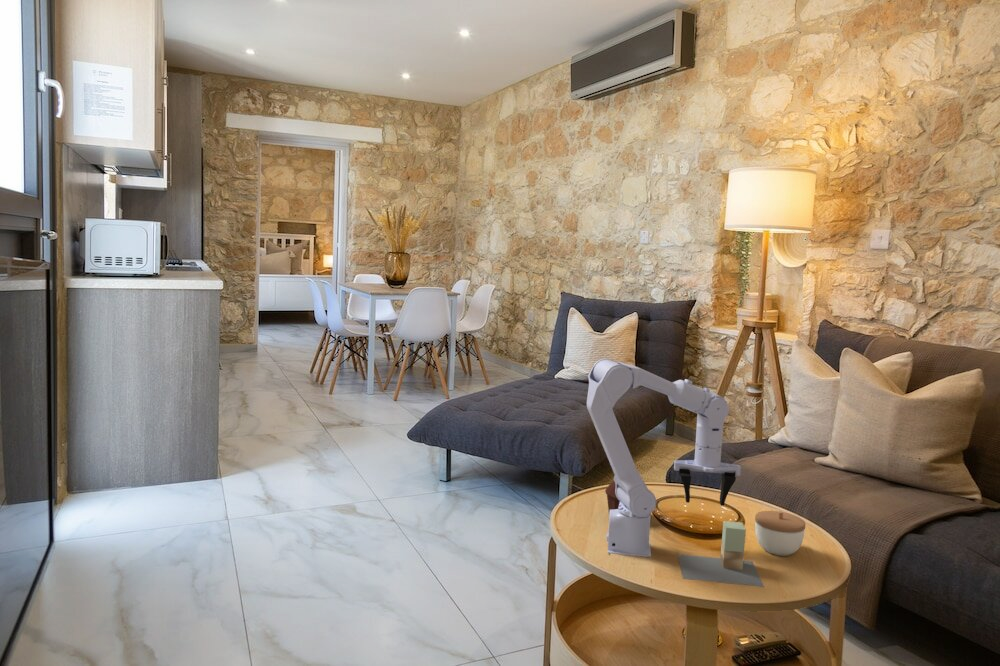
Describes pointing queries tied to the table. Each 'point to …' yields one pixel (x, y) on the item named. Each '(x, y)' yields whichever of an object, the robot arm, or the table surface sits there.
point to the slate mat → (718, 571)
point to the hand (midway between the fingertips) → (704, 502)
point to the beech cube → (731, 559)
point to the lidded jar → (779, 532)
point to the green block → (733, 536)
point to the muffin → (612, 497)
